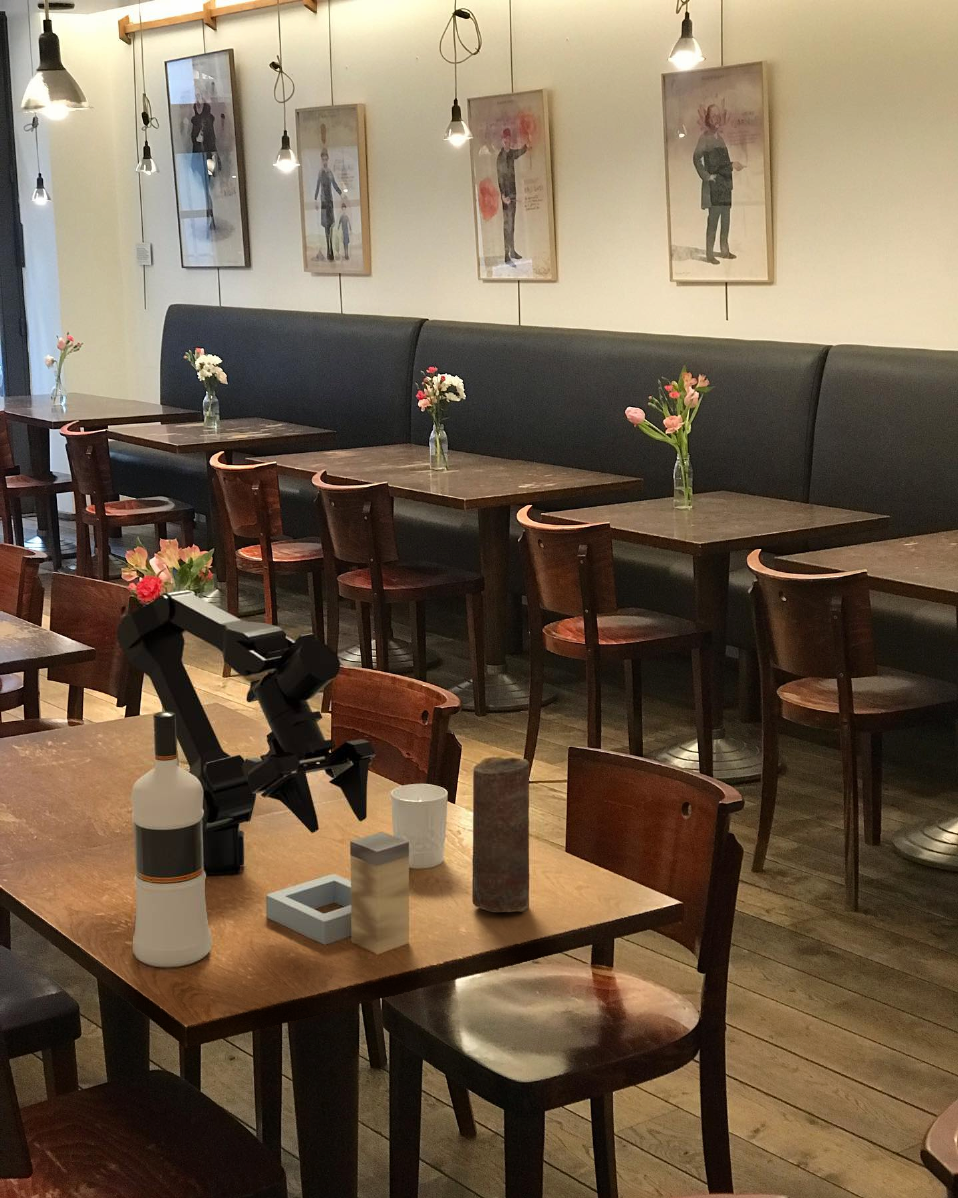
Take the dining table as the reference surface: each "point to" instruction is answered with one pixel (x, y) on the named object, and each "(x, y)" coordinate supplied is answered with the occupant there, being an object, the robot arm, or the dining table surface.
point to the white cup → (421, 822)
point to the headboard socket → (302, 899)
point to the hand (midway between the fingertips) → (339, 825)
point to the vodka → (169, 858)
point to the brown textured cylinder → (501, 834)
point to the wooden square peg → (379, 892)
